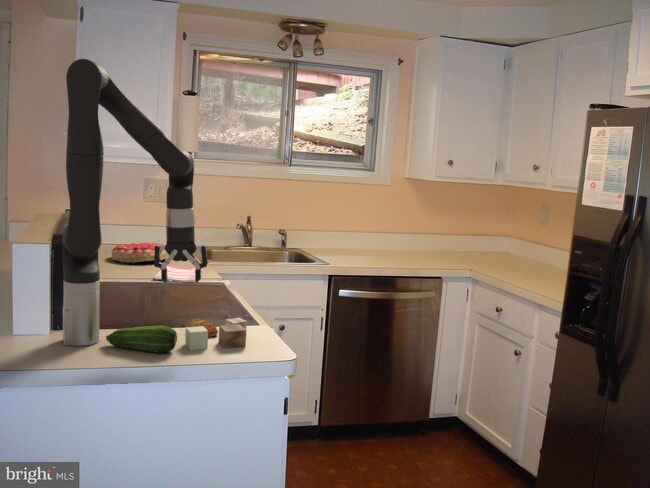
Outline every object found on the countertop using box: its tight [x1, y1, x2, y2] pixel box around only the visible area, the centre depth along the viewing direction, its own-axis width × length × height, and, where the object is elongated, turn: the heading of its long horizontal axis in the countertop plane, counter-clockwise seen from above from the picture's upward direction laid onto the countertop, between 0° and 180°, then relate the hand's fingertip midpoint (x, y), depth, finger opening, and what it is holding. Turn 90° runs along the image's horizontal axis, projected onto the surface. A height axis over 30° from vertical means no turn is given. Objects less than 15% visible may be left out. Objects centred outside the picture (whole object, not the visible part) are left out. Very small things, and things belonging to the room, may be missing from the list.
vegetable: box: [105, 325, 178, 354], centre depth 178 cm, size 7×7×20 cm
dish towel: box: [152, 264, 203, 283], centre depth 275 cm, size 17×23×4 cm
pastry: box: [187, 318, 219, 338], centre depth 196 cm, size 9×7×4 cm
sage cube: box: [184, 326, 209, 351], centre depth 184 cm, size 5×5×5 cm
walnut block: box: [218, 324, 247, 349], centre depth 187 cm, size 6×6×5 cm
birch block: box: [225, 317, 248, 332], centre depth 197 cm, size 4×4×4 cm
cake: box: [111, 241, 169, 265], centre depth 304 cm, size 25×25×8 cm
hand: (181, 282), depth 183 cm, fingers open, 8 cm apart
